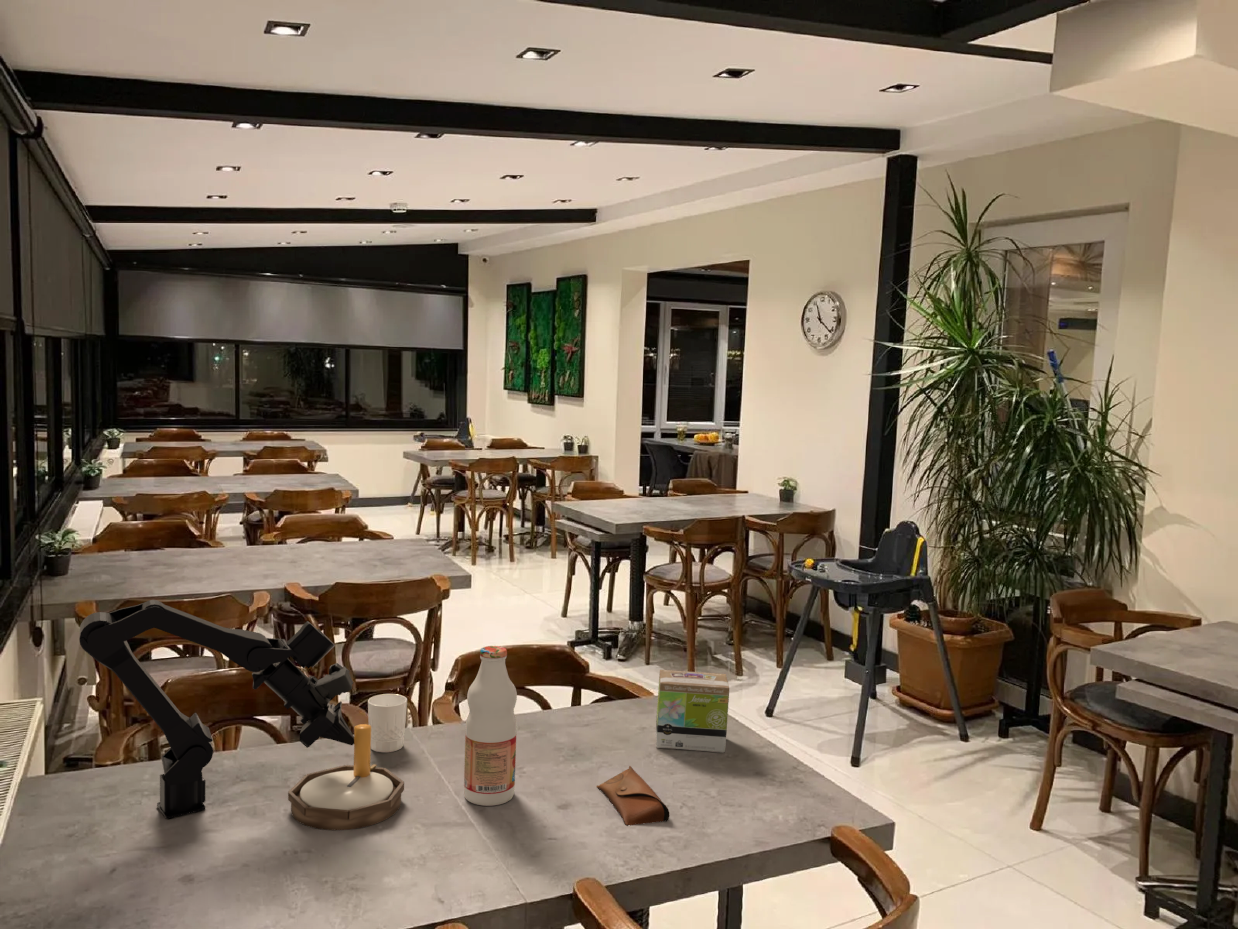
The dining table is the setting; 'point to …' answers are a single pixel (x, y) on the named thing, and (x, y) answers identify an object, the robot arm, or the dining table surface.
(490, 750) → the fruit juice
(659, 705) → the tea box
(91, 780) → the dining table surface
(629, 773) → the sunglasses case
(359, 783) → the dial
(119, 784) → the dining table surface
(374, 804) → the dial housing
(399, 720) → the white cup
